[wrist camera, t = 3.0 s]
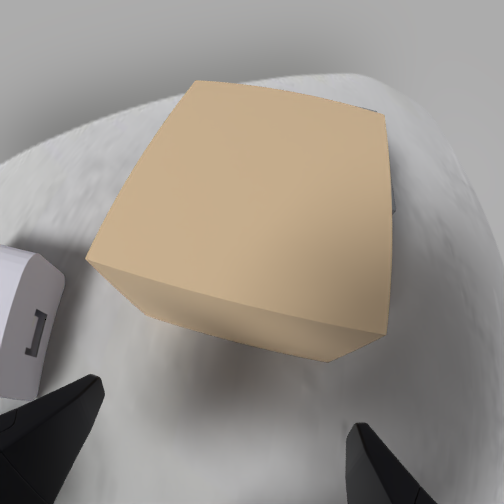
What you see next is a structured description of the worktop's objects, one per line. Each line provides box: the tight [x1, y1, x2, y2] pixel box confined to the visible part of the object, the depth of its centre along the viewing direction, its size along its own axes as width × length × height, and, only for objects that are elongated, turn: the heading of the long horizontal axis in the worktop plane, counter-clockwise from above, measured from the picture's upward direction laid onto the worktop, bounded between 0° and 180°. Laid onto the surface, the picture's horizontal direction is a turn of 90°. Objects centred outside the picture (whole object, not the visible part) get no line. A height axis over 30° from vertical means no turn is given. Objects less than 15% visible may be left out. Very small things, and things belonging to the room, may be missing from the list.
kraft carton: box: [85, 80, 392, 362], centre depth 16 cm, size 12×11×8 cm
